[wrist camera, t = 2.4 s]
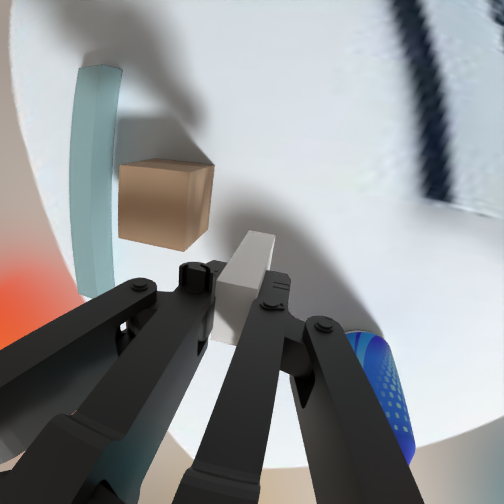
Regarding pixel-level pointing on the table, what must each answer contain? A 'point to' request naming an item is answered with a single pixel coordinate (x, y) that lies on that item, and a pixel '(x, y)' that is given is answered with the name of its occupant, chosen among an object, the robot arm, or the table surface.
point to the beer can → (385, 385)
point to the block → (164, 202)
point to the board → (93, 177)
